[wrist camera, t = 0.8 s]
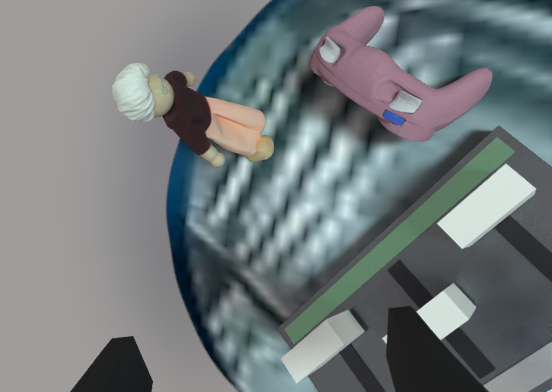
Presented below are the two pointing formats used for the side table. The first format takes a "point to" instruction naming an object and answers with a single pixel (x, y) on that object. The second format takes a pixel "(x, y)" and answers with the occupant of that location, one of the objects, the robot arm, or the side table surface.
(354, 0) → the side table surface
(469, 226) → the block
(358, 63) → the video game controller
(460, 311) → the block
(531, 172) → the breaker panel
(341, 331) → the block
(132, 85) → the grandmother figurine
